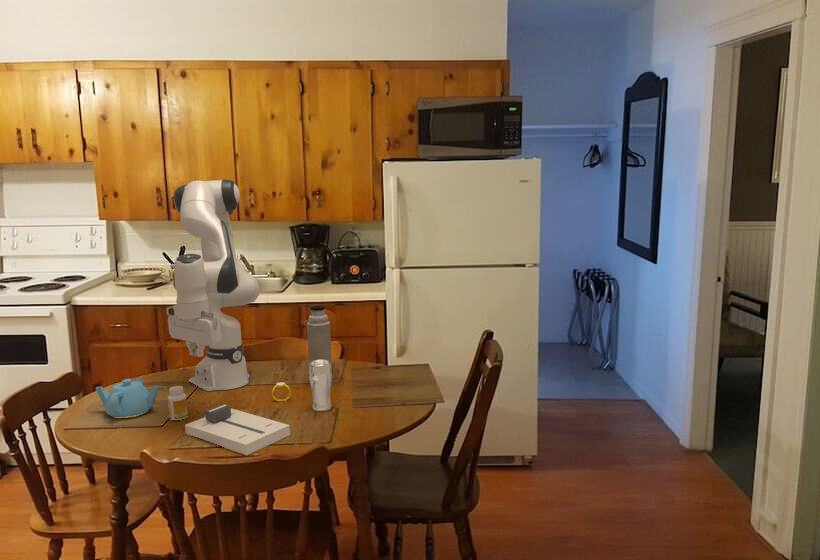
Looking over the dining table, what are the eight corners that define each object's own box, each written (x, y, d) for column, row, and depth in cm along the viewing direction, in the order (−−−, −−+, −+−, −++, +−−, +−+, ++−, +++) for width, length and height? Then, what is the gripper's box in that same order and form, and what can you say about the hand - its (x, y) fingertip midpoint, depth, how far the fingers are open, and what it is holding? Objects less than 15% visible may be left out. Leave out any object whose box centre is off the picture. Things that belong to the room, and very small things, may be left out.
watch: (273, 403, 216) (270, 386, 215) (273, 400, 219) (270, 383, 218) (291, 400, 218) (289, 383, 216) (291, 398, 220) (289, 380, 219)
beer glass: (329, 412, 207) (326, 366, 204) (307, 411, 208) (305, 365, 206) (335, 404, 213) (333, 359, 211) (315, 403, 215) (313, 358, 212)
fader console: (185, 434, 192) (185, 424, 191) (229, 417, 205) (229, 407, 204) (246, 455, 177) (245, 444, 177) (290, 435, 190) (289, 424, 189)
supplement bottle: (191, 415, 207) (189, 385, 205) (180, 422, 202) (177, 391, 200) (177, 414, 208) (174, 384, 207) (165, 420, 203) (163, 390, 202)
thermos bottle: (319, 379, 239) (315, 303, 234) (337, 382, 235) (333, 305, 230) (305, 385, 232) (301, 307, 227) (323, 389, 228) (319, 309, 223)
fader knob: (205, 420, 194) (205, 409, 193) (222, 413, 198) (221, 403, 198) (214, 422, 191) (214, 412, 191) (231, 416, 196) (230, 406, 196)
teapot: (96, 412, 212) (92, 380, 210) (143, 400, 222) (140, 369, 220) (113, 425, 201) (109, 391, 199) (162, 412, 211) (159, 379, 209)
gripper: (225, 311, 191) (228, 358, 193) (180, 304, 202) (184, 348, 205) (207, 316, 186) (210, 363, 188) (162, 308, 197) (166, 353, 200)
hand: (196, 355), depth 196 cm, fingers closed
